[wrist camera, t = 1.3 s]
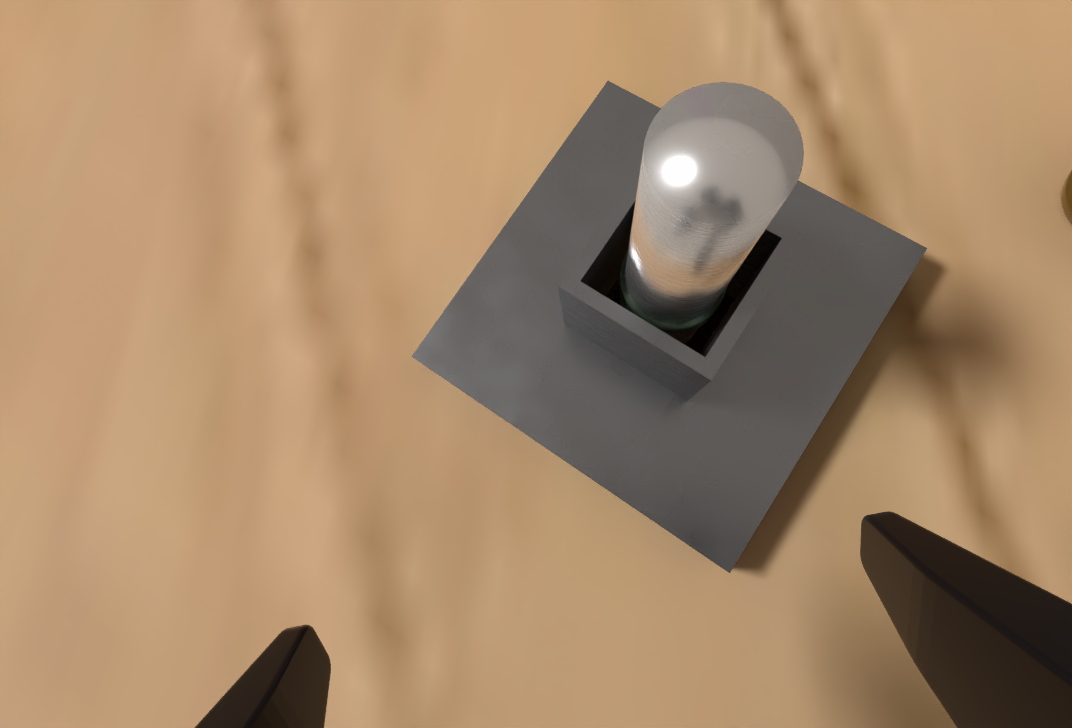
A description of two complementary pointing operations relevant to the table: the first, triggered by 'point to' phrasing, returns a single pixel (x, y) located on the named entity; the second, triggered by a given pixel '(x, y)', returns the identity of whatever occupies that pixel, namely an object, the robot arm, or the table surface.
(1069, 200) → the cup
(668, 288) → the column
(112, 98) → the table surface
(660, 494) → the stand
